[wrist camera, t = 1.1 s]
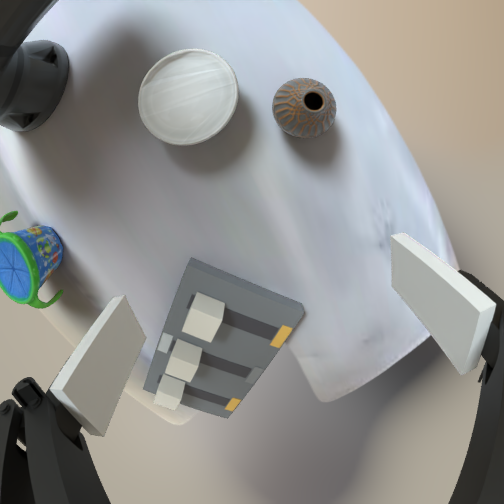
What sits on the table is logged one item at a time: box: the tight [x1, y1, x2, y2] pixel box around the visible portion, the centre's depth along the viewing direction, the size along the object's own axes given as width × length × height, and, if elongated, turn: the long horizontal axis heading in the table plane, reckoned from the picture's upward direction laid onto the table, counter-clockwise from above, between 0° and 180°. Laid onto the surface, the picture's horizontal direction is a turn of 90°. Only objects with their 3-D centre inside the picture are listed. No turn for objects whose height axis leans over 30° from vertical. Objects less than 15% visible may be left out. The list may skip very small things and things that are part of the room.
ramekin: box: [138, 49, 239, 146], centre depth 28 cm, size 11×11×5 cm
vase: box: [272, 78, 336, 138], centre depth 27 cm, size 7×7×9 cm
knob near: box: [182, 292, 225, 343], centre depth 36 cm, size 4×4×4 cm
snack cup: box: [0, 211, 63, 308], centre depth 32 cm, size 16×10×10 cm
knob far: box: [153, 374, 185, 411], centre depth 42 cm, size 4×4×4 cm
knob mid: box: [165, 339, 202, 382], centre depth 39 cm, size 4×4×4 cm
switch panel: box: [143, 258, 304, 418], centre depth 42 cm, size 17×28×3 cm, turn 155°
